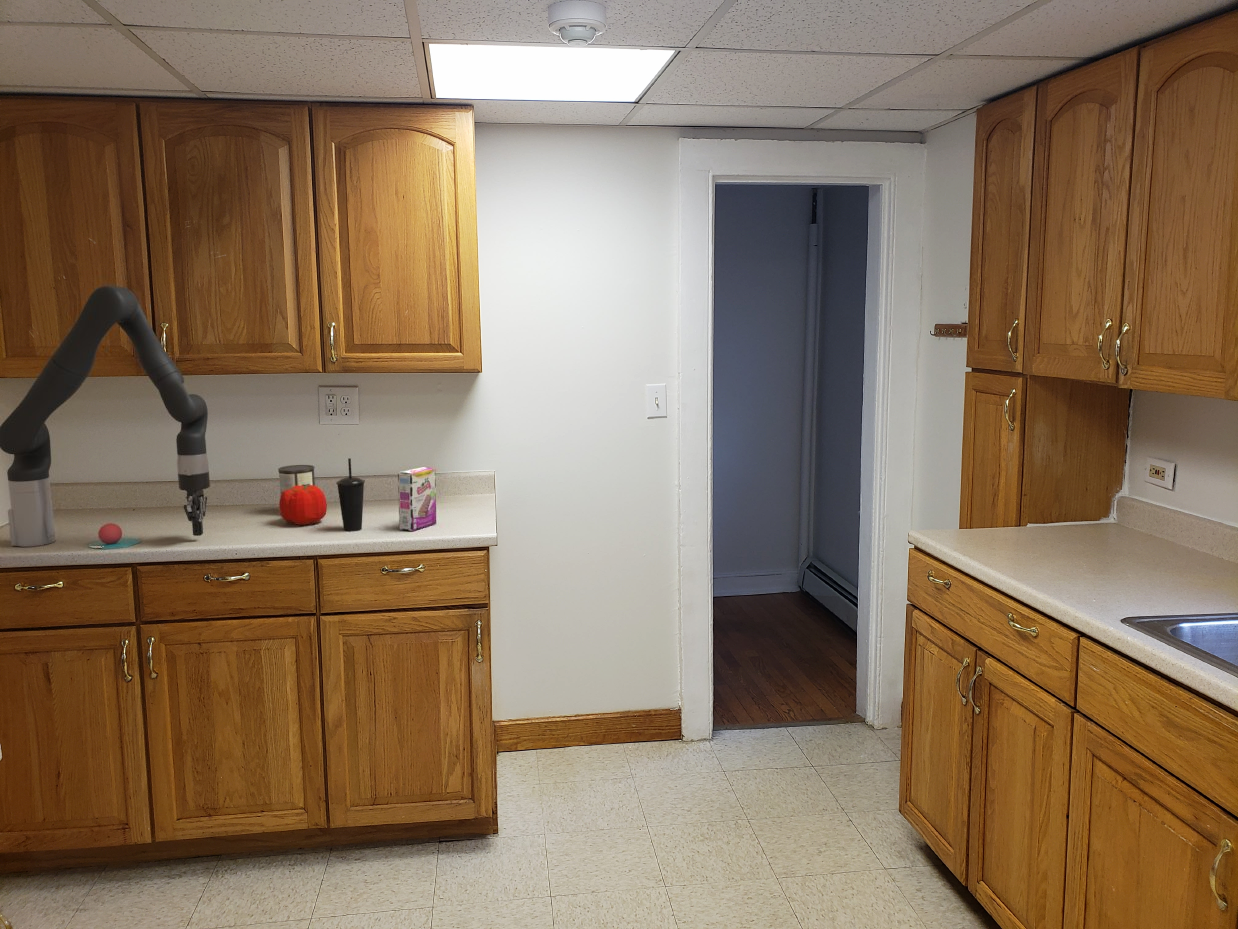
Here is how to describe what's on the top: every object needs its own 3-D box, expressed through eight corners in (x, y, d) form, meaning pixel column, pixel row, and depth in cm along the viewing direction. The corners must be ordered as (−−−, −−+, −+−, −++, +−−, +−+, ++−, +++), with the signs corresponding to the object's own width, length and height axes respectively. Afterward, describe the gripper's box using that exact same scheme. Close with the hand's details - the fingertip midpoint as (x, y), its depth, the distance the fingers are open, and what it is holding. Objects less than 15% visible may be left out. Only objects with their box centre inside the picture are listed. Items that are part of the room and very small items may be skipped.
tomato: (287, 518, 280) (285, 483, 278) (333, 517, 280) (331, 482, 279) (273, 528, 266) (271, 491, 264) (321, 527, 267) (319, 491, 265)
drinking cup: (365, 531, 261) (362, 460, 258) (337, 533, 260) (333, 461, 257) (368, 525, 269) (365, 456, 266) (340, 527, 268) (336, 456, 264)
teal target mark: (80, 550, 243) (80, 549, 243) (99, 539, 254) (99, 538, 254) (130, 548, 244) (130, 547, 244) (146, 537, 256) (146, 536, 256)
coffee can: (294, 509, 293) (291, 464, 290) (323, 510, 290) (321, 465, 288) (273, 516, 283) (270, 469, 281) (304, 517, 280) (301, 470, 278)
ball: (122, 534, 246) (108, 550, 246) (129, 530, 252) (116, 545, 252) (104, 521, 245) (90, 537, 245) (111, 517, 250) (98, 532, 251)
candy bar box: (413, 532, 261) (411, 473, 258) (398, 530, 263) (396, 472, 261) (438, 524, 271) (436, 467, 268) (423, 522, 273) (421, 466, 271)
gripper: (185, 467, 255) (190, 530, 258) (170, 475, 242) (175, 541, 245) (215, 466, 256) (219, 529, 259) (201, 474, 243) (206, 540, 246)
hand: (198, 535), depth 252 cm, fingers closed
